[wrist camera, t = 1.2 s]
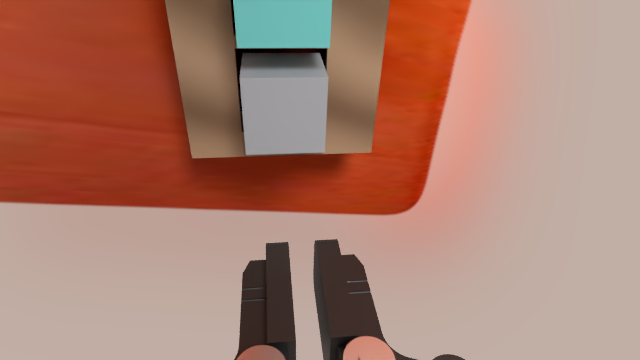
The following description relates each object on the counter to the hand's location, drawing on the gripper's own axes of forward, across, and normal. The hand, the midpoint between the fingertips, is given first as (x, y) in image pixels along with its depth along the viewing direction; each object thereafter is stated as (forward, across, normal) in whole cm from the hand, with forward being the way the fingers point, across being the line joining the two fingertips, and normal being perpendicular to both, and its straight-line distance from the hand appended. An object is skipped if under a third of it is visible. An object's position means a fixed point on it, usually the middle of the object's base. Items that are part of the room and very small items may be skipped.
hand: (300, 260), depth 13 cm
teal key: (+15, 0, -6) cm, 16 cm away
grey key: (+15, 0, 0) cm, 15 cm away
